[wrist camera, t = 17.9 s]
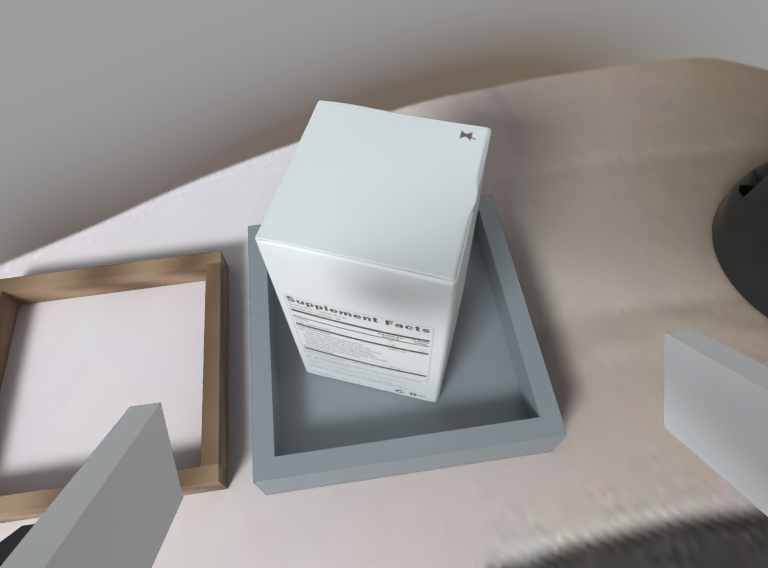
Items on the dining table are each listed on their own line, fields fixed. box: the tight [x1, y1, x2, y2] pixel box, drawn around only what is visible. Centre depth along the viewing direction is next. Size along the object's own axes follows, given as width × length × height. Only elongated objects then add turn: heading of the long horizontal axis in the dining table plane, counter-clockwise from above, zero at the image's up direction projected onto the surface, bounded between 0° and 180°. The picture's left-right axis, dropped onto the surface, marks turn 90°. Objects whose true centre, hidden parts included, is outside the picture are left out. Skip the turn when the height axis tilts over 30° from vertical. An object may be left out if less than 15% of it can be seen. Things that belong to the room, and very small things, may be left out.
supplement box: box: [255, 101, 491, 402], centre depth 31 cm, size 9×9×15 cm
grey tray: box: [248, 195, 567, 495], centre depth 37 cm, size 17×17×4 cm
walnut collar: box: [0, 251, 228, 523], centre depth 36 cm, size 16×16×2 cm
